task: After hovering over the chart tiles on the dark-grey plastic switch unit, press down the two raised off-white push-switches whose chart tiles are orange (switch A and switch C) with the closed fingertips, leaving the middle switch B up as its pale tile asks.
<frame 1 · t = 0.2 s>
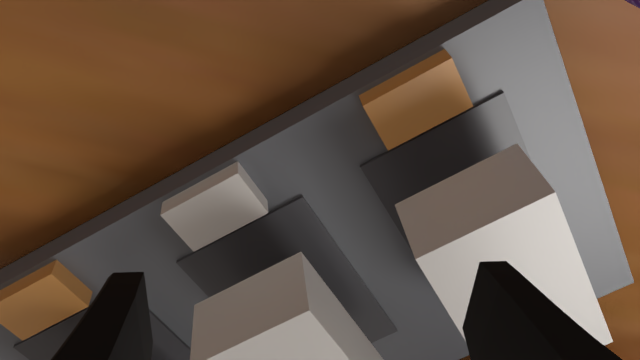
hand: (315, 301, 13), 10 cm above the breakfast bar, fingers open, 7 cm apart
button A: (506, 274, 20), point 5 cm above the breakfast bar, slide at 2.0 cm
switch unit: (297, 284, 26), on the breakfast bar
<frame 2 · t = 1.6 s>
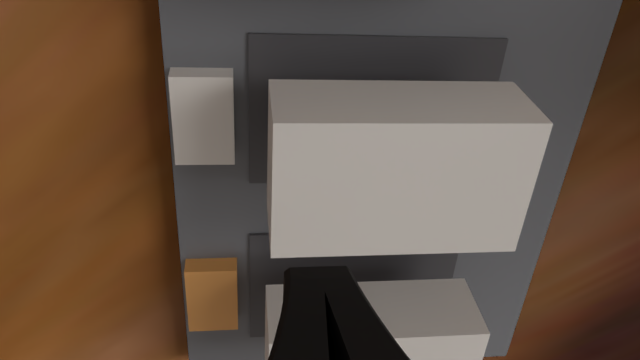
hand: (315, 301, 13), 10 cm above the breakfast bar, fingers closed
button C: (367, 351, 22), point 5 cm above the breakfast bar, slide at 2.0 cm
button B: (395, 167, 18), point 5 cm above the breakfast bar, slide at 2.0 cm
switch unit: (379, 98, 22), on the breakfast bar
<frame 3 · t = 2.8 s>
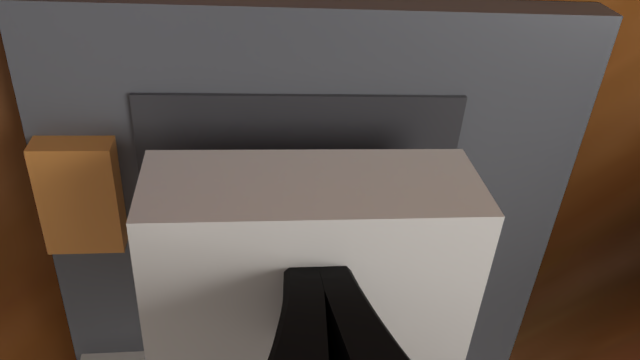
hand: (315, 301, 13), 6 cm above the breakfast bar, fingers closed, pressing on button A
button A: (310, 260, 14), point 4 cm above the breakfast bar, slide at 1.5 cm, touching gripper
switch unit: (301, 349, 22), on the breakfast bar
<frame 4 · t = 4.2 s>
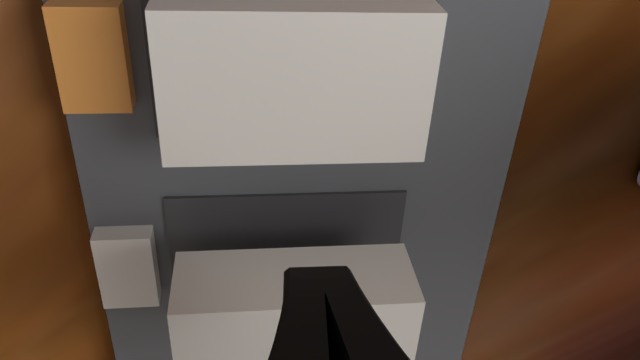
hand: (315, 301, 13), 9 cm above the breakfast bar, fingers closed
button A: (294, 73, 17), point 3 cm above the breakfast bar, slide at -0.1 cm
button B: (294, 326, 20), point 5 cm above the breakfast bar, slide at 2.0 cm
switch unit: (297, 234, 24), on the breakfast bar
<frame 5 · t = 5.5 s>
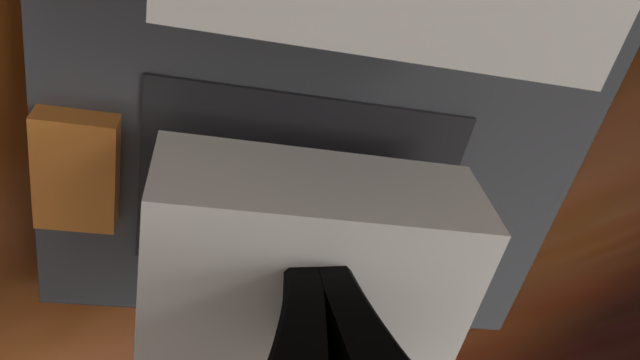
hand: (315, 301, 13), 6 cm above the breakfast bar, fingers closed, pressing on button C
button C: (310, 259, 14), point 4 cm above the breakfast bar, slide at 1.4 cm, touching gripper
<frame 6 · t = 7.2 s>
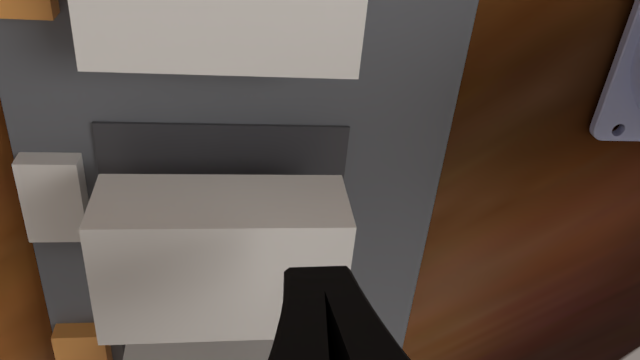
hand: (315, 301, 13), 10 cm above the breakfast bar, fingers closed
button B: (223, 257, 19), point 5 cm above the breakfast bar, slide at 2.0 cm
switch unit: (238, 174, 23), on the breakfast bar
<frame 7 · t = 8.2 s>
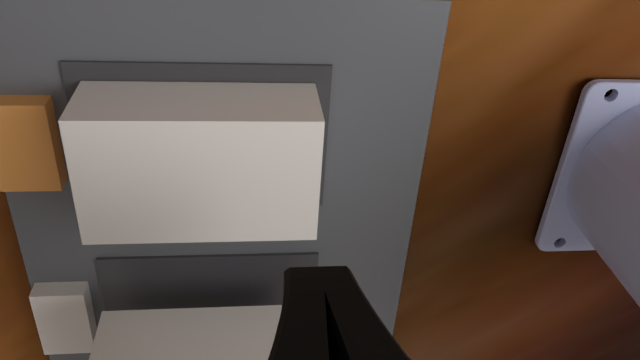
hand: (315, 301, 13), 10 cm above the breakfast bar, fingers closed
button A: (201, 162, 20), point 3 cm above the breakfast bar, slide at -0.1 cm
switch unit: (225, 286, 26), on the breakfast bar
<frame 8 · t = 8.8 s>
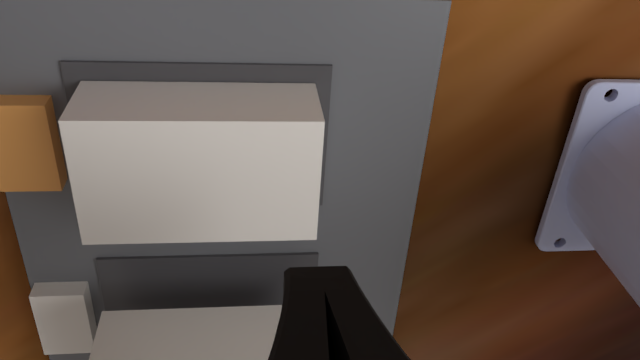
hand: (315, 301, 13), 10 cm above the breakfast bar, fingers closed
button A: (201, 162, 20), point 3 cm above the breakfast bar, slide at -0.1 cm
switch unit: (225, 286, 26), on the breakfast bar
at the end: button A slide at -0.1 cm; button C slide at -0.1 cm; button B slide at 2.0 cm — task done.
